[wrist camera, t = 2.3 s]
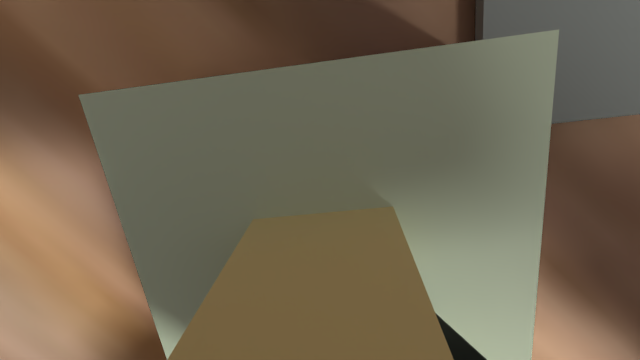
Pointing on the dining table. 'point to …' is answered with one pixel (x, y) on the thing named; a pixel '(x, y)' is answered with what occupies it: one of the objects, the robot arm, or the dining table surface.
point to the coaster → (578, 50)
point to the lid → (339, 202)
